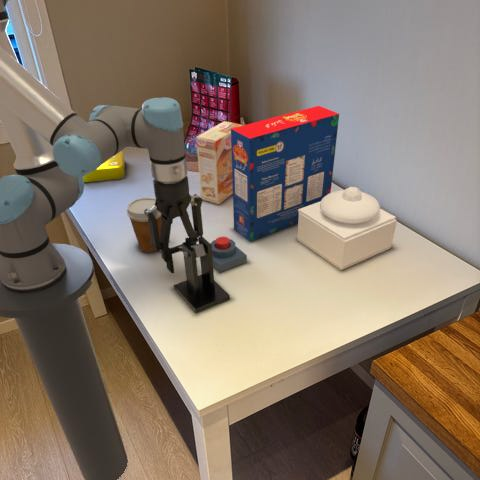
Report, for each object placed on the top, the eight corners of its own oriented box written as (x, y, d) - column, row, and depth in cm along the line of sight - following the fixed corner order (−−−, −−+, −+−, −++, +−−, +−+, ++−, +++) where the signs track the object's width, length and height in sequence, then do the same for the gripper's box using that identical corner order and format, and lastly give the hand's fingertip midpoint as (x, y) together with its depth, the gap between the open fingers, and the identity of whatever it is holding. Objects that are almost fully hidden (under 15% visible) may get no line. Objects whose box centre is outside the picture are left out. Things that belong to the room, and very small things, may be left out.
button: (213, 245, 123) (212, 239, 122) (225, 241, 125) (224, 235, 123) (220, 251, 121) (219, 245, 120) (232, 247, 122) (232, 241, 121)
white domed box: (341, 270, 120) (349, 212, 109) (295, 239, 131) (299, 184, 121) (391, 248, 127) (403, 191, 117) (344, 220, 138) (351, 166, 128)
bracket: (173, 288, 116) (166, 238, 107) (206, 276, 119) (202, 227, 110) (195, 313, 109) (190, 262, 100) (230, 299, 112) (227, 248, 103)
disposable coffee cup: (176, 243, 131) (171, 202, 123) (152, 259, 125) (145, 218, 117) (150, 233, 135) (143, 193, 127) (126, 249, 129) (117, 208, 122)
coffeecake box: (219, 204, 147) (215, 140, 134) (199, 199, 150) (194, 136, 137) (244, 185, 157) (243, 124, 144) (226, 180, 159) (223, 120, 147)
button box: (200, 254, 127) (199, 241, 124) (226, 244, 130) (225, 231, 127) (219, 272, 120) (219, 259, 118) (246, 262, 123) (246, 249, 121)
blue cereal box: (310, 201, 147) (318, 105, 129) (328, 211, 142) (339, 113, 124) (234, 229, 136) (230, 128, 117) (250, 241, 131) (249, 138, 112)
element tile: (81, 165, 171) (78, 151, 168) (124, 161, 173) (122, 147, 170) (79, 183, 160) (75, 169, 157) (125, 179, 162) (122, 165, 159)
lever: (169, 256, 116) (166, 246, 115) (188, 249, 118) (185, 240, 117) (191, 260, 104) (188, 249, 104) (211, 252, 106) (208, 242, 105)
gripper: (138, 194, 98) (154, 286, 113) (215, 172, 105) (220, 262, 120) (124, 181, 103) (141, 271, 118) (198, 161, 110) (205, 248, 125)
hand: (181, 266), depth 119 cm, fingers closed on lever, 5 cm apart
